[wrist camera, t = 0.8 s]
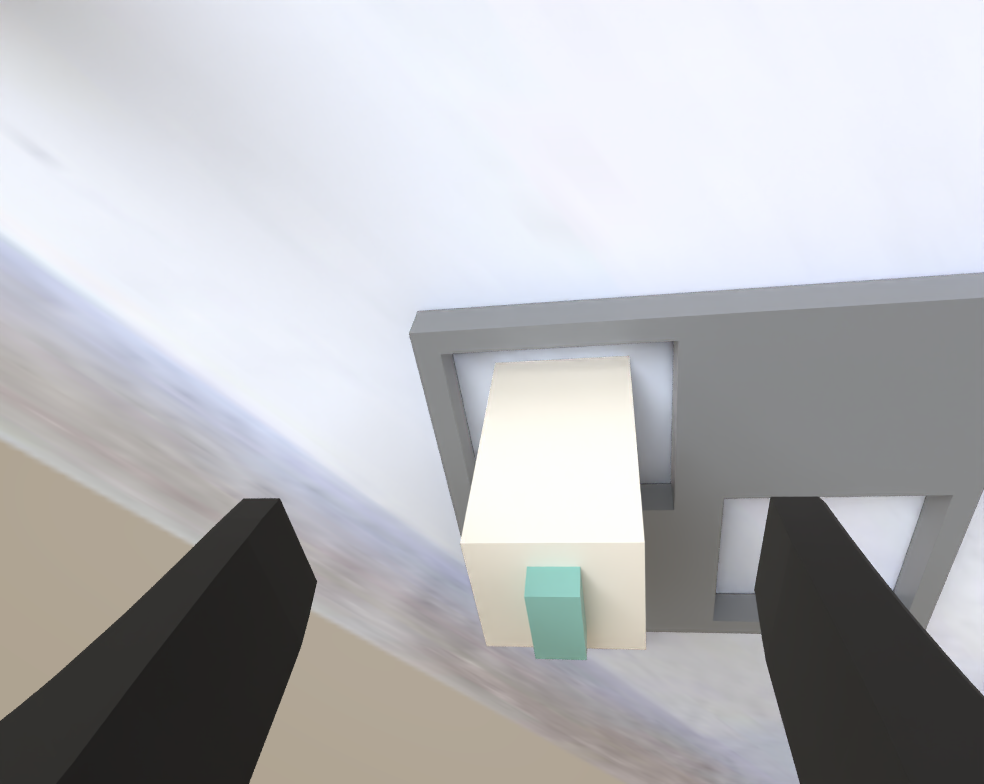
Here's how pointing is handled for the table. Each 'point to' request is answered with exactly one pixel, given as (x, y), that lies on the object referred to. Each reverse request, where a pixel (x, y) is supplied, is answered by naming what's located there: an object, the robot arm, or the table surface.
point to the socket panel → (766, 414)
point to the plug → (558, 510)
